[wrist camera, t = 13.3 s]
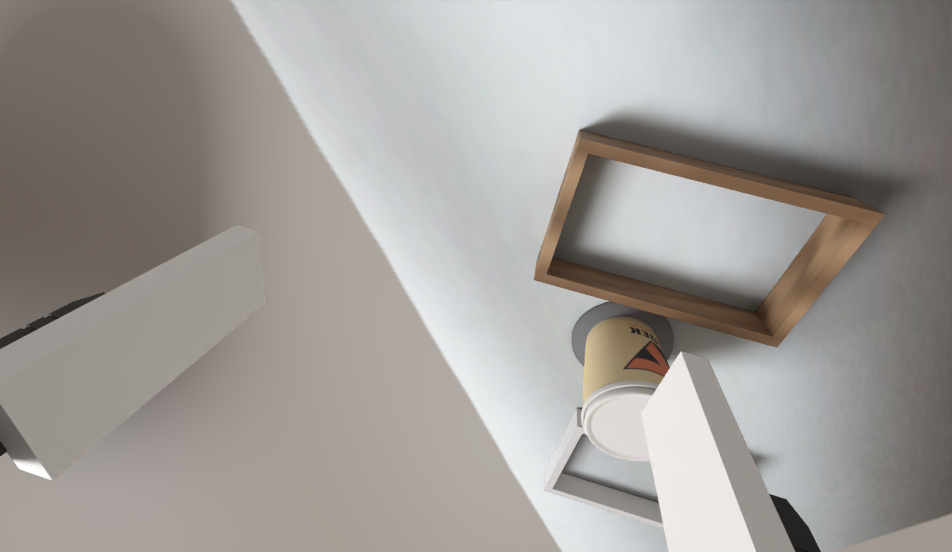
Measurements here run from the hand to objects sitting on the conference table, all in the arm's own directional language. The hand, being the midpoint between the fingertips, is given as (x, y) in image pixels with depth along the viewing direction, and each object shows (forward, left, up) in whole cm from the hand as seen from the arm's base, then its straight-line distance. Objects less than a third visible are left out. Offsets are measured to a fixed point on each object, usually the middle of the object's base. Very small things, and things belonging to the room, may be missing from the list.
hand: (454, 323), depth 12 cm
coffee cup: (+19, +16, -28) cm, 38 cm away
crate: (+5, +16, -29) cm, 33 cm away
